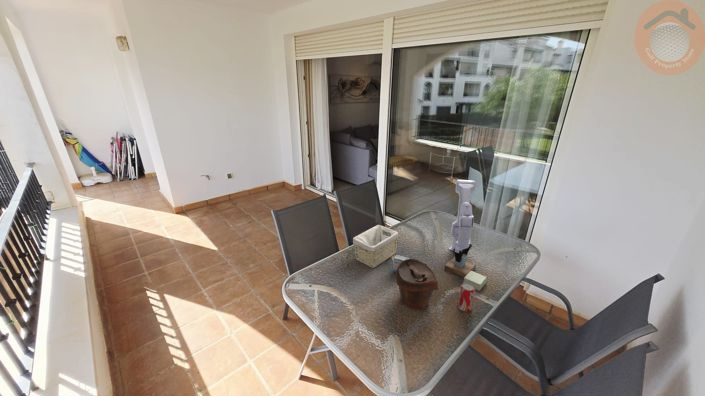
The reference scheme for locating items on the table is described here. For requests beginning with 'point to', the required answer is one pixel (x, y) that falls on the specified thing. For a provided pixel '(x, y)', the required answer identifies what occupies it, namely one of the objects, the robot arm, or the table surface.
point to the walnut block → (459, 270)
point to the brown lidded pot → (415, 283)
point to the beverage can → (466, 297)
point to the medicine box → (398, 261)
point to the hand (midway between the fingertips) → (461, 258)
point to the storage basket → (375, 245)
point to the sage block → (475, 280)
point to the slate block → (462, 262)
